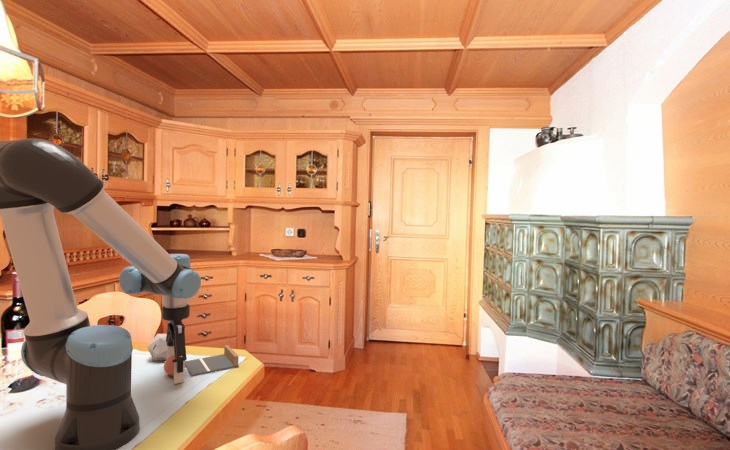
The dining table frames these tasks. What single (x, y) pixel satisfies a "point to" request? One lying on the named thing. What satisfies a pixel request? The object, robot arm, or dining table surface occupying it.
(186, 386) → the dining table surface
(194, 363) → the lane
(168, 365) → the ball
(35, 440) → the dining table surface
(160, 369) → the dining table surface
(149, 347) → the die
